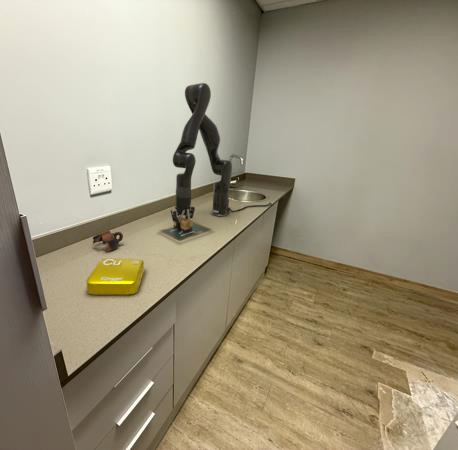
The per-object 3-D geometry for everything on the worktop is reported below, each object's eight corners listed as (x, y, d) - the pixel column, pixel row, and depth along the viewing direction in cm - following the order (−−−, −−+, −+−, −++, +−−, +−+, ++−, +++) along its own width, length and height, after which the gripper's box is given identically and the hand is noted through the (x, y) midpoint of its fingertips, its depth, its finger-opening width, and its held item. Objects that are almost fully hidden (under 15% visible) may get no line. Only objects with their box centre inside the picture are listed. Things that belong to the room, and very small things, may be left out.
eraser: (180, 224, 128) (181, 216, 126) (192, 229, 122) (192, 220, 120) (173, 227, 124) (173, 217, 123) (184, 232, 118) (185, 222, 117)
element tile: (85, 295, 72) (83, 281, 71) (102, 268, 86) (101, 257, 85) (136, 295, 73) (135, 282, 72) (145, 269, 87) (144, 257, 86)
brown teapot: (99, 256, 96) (90, 237, 95) (98, 256, 104) (90, 238, 104) (128, 243, 101) (119, 225, 100) (125, 243, 110) (117, 227, 109)
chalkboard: (191, 223, 134) (191, 221, 134) (212, 232, 124) (212, 229, 123) (158, 233, 119) (158, 230, 119) (179, 243, 109) (179, 241, 108)
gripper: (176, 199, 110) (176, 233, 116) (199, 194, 119) (198, 226, 125) (166, 195, 115) (167, 229, 121) (189, 192, 124) (188, 222, 130)
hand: (182, 227), depth 123 cm, fingers closed on eraser, 5 cm apart
